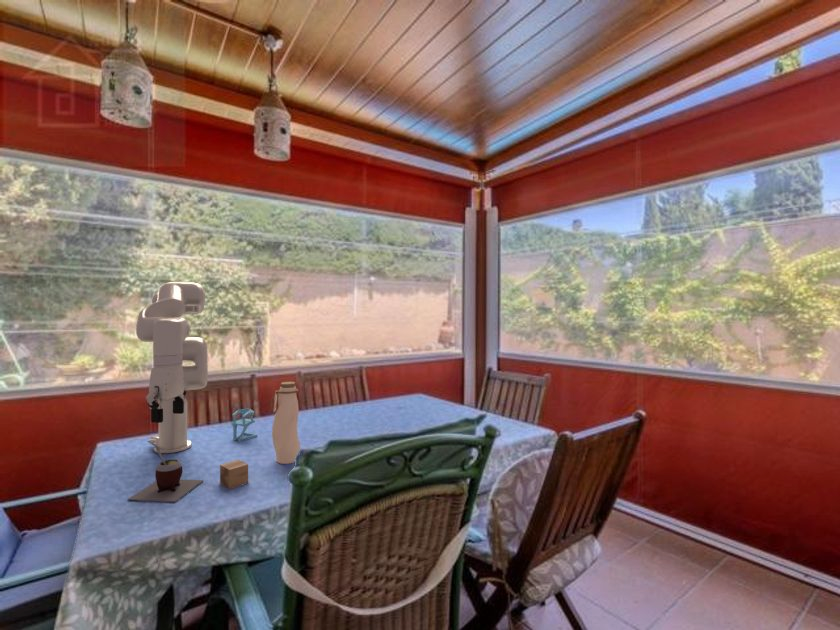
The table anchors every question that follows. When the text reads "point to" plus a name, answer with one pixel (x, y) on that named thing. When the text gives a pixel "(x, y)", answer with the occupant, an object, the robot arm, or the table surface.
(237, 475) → the brown cube
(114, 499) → the table surface
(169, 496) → the rubber mat
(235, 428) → the chair
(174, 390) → the robot arm
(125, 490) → the table surface
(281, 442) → the water bottle
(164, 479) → the mate gourd
